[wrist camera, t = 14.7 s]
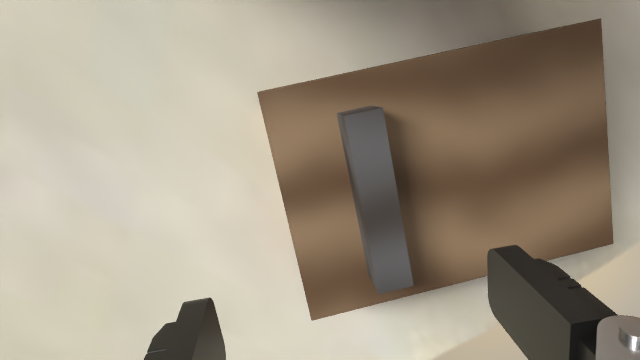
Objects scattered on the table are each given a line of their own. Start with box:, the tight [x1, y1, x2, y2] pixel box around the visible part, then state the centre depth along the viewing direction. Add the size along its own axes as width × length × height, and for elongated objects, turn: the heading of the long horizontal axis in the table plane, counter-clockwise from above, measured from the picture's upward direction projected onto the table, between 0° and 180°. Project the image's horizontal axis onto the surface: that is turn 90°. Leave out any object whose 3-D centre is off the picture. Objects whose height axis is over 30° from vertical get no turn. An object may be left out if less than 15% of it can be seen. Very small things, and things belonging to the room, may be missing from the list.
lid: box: [257, 19, 613, 320], centre depth 25 cm, size 14×20×4 cm
